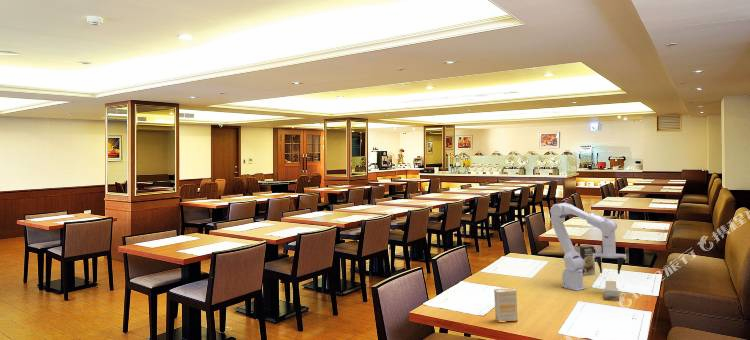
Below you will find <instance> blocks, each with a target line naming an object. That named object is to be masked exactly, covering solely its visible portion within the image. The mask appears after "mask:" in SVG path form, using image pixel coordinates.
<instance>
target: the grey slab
mask: <svg viewBox="0 0 750 340" xmlns="http://www.w3.org/2000/svg"><path fill="white" fill-rule="evenodd" d="M604 293H605V295H606V296H617V297H619V298H620V295H619V293H620V292H619V289H618V287H616V291H608V290H606V287H604Z"/></svg>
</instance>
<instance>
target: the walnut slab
mask: <svg viewBox="0 0 750 340" xmlns="http://www.w3.org/2000/svg"><path fill="white" fill-rule="evenodd" d="M602 297H603V301H608V302H620V296H619V297H617V296H606V295H605V291H604V292H602Z"/></svg>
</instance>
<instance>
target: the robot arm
mask: <svg viewBox="0 0 750 340" xmlns="http://www.w3.org/2000/svg"><path fill="white" fill-rule="evenodd" d="M549 213H550V222H551V225H552V228H553V230H554V233H555V234H556V235H555V236H557V240H558V241H559V245H560V246H561V249H562V251H563V254H564V256H563V261H564V266H565V269H564V270H563V272H562V275H561V276H562V278H561V279H562V280H561V281H562V286H561V288H563V287H564V288H565V289H568V290H572V291H582V290H586V289H587V288H588V287H587V286H584V276H583V270H582V268H583V267H584V265H585V262H584V260H583V258H581V256H580V255H579V253H578V252H576V251H575V249H574V244H573V243H572V240H571V238H570V236H569V233H568V232H567V229H566V226H565V225H564V220H565V219H566V217H568V215H574V216H576V217H578V218H581V219H583V220H585V221H586V223H587V224H589V225H591V226H593V227H595V228H597V229H599V230H600V231H601V233H602V234H601V235H602V237H601V238H602V243H601V244H602V252H594V253H593V258H595V262H596V263H597V265H598V268H599V273H600V274H603V269H602V259H617V274H618V275H620V273H621V269H622V266H623V263H624V262H625V260H627V254H625V253H617V252H616V251H617V250H616V249H617V248H616V245H617V244H616V230H617V228H618V223H617V222H616V221H615V220H613V219H608V217H604V216H601V215H599V214H598V213H597V212H592V213H588V212H586V211H585V210H582V209H580V208H578V207H577V206H574V205H573V204H571V203H567V202H561V203H555V204H553V205H552V206H551V207H550V209H549Z"/></svg>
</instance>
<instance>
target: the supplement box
mask: <svg viewBox="0 0 750 340" xmlns="http://www.w3.org/2000/svg"><path fill="white" fill-rule="evenodd" d="M493 290H494V291H493V294H494V313H495V314H494V315H495V320H496V319H497V320H498V321H518V304H517V303H518V302H517V301H518V300H517V299H518V298H517V297H518V296H517V290H516V289H514V288H512V287H511V288H494V289H493ZM497 320H496V321H497ZM498 321H497V322H498Z"/></svg>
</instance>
